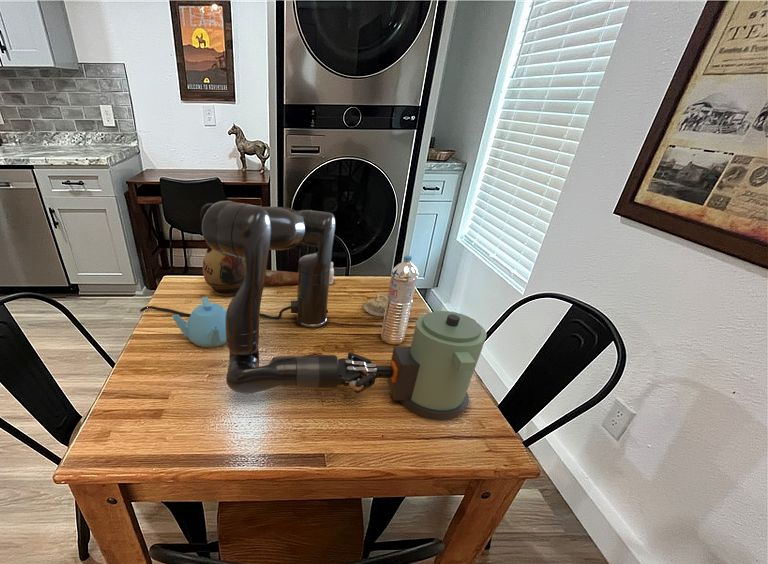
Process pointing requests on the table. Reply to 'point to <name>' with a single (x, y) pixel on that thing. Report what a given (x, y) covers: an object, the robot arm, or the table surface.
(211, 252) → the ceramic jug
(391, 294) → the water bottle
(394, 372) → the switch
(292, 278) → the bread
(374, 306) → the cake
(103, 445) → the table surface
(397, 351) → the kettle
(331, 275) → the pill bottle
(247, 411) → the table surface
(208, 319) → the teapot
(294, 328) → the table surface
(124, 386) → the table surface
